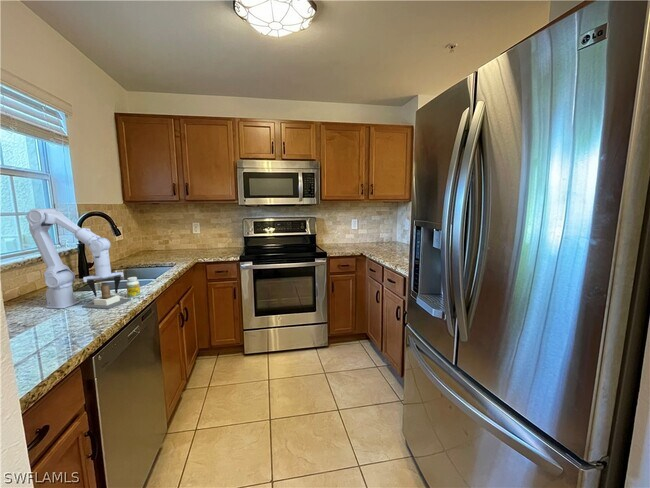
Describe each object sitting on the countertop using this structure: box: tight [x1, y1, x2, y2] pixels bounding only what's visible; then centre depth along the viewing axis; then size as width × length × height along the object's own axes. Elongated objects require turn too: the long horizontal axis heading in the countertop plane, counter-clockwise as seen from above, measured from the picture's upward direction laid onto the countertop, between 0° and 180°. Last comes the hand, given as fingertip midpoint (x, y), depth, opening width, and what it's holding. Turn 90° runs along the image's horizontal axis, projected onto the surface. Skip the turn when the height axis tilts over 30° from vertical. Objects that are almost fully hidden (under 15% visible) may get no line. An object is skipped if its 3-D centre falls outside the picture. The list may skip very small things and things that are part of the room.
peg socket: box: [81, 294, 132, 310], centre depth 137 cm, size 14×12×3 cm
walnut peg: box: [100, 284, 112, 299], centre depth 137 cm, size 3×3×8 cm
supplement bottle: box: [125, 276, 141, 299], centre depth 147 cm, size 5×5×10 cm
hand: (106, 294), depth 137 cm, fingers open, 7 cm apart
